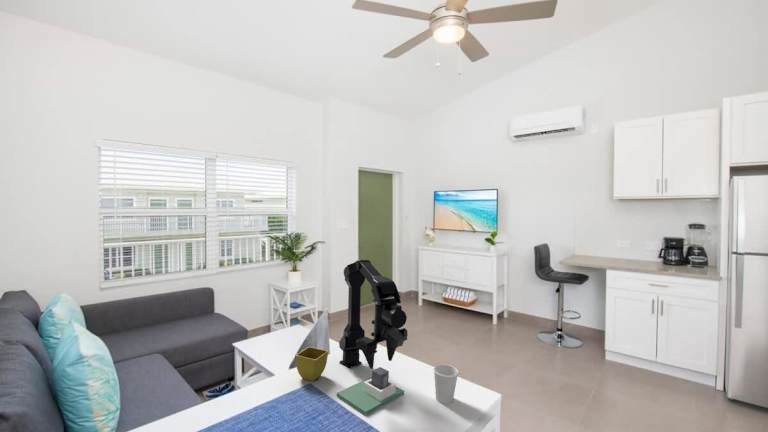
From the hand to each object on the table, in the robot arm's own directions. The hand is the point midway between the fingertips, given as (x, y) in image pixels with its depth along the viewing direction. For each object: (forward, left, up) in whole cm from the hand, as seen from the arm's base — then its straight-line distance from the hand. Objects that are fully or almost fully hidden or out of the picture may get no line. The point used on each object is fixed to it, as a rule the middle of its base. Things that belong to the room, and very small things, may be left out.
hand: (380, 364), depth 115 cm
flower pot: (-25, -10, -11) cm, 29 cm away
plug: (0, 0, -9) cm, 9 cm away
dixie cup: (+16, +15, -11) cm, 24 cm away
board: (-2, -2, -11) cm, 11 cm away
